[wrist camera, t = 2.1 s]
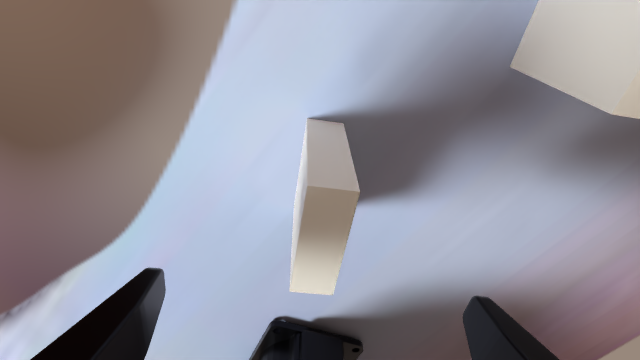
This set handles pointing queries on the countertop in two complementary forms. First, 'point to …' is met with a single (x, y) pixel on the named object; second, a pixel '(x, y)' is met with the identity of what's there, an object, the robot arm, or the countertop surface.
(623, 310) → the countertop surface
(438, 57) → the countertop surface
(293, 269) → the domino
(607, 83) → the domino
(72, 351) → the robot arm
